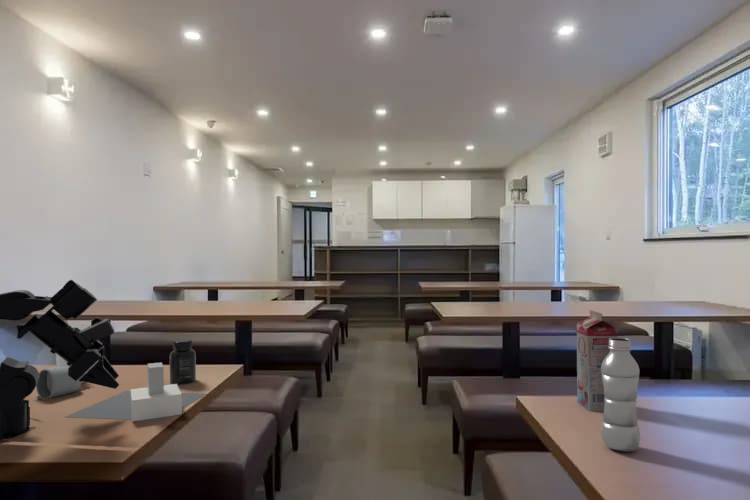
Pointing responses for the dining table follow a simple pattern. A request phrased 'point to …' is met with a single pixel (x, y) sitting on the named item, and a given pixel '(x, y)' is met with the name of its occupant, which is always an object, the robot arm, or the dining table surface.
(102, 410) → the mat
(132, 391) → the cover
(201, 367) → the dining table surface
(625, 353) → the plastic bottle
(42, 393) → the ceramic mug
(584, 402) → the juice carton
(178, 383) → the supplement bottle
